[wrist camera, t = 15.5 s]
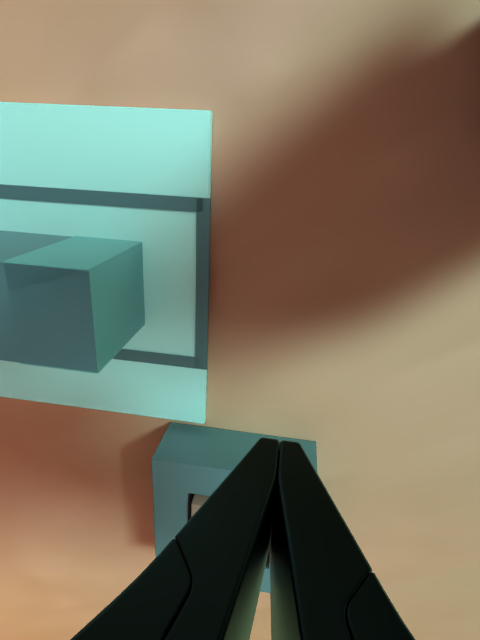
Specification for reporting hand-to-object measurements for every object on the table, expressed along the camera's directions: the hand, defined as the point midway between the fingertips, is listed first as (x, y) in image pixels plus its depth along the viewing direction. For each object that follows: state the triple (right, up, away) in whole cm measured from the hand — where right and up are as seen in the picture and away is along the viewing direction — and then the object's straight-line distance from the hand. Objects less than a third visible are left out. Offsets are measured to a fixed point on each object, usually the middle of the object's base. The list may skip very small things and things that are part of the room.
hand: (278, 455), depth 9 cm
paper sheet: (-12, +5, +12) cm, 18 cm away
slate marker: (-12, +5, +11) cm, 18 cm away
